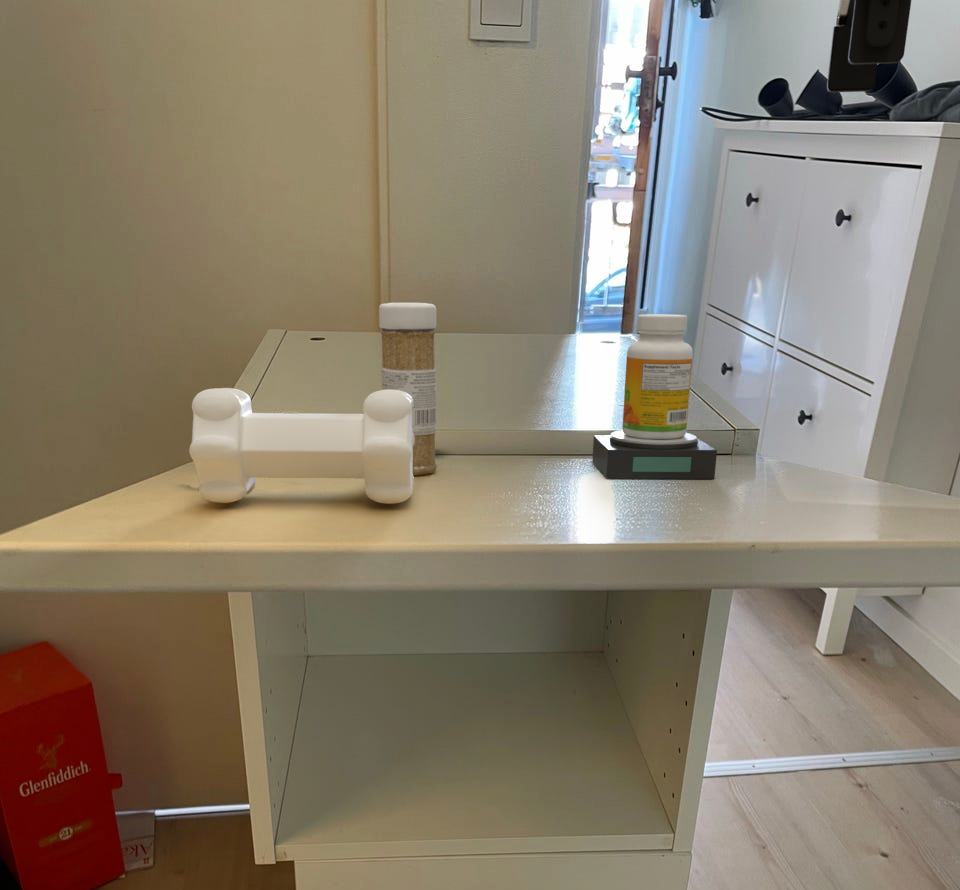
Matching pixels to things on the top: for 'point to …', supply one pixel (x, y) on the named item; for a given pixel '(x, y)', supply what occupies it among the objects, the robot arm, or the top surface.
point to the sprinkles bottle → (412, 371)
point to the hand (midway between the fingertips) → (861, 77)
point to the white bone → (301, 445)
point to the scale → (653, 457)
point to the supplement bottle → (658, 379)
